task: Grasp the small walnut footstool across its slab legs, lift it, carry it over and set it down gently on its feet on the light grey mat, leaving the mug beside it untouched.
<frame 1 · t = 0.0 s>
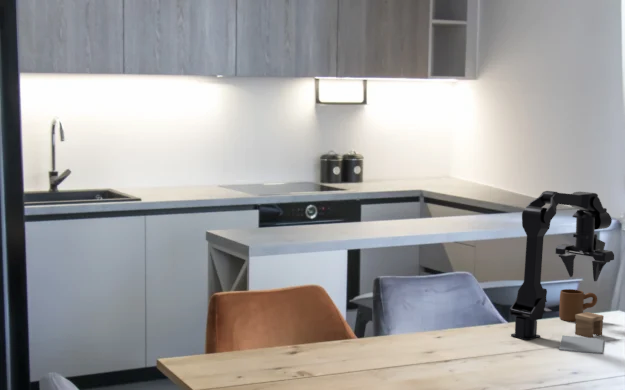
hand: (583, 278, 299), 15 cm above the table, fingers open, 9 cm apart
mat: (581, 344, 274), on the table
stool: (588, 334, 286), on the table
mug: (577, 320, 306), on the table
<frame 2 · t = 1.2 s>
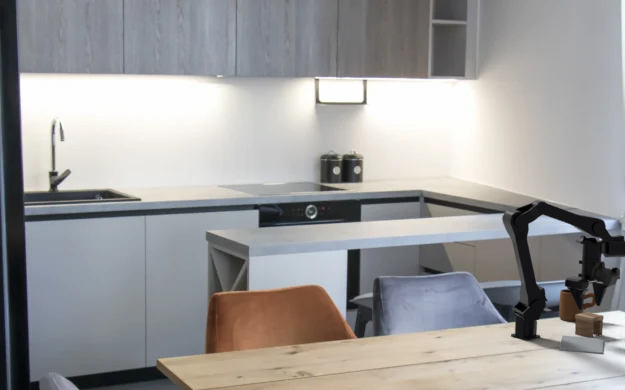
hand: (589, 307, 285), 8 cm above the table, fingers open, 9 cm apart
nothing on the table moved.
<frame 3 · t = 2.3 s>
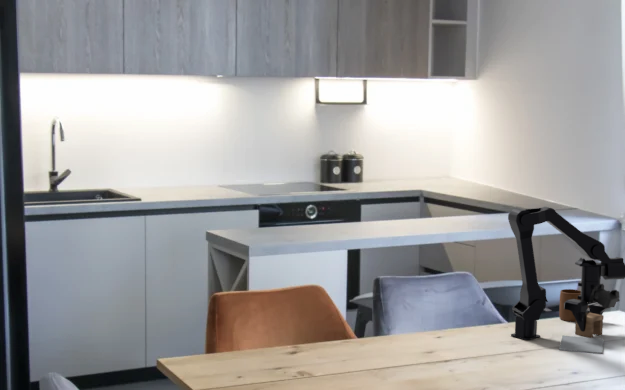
hand: (588, 329, 286), 2 cm above the table, fingers closed on stool, 6 cm apart
stool: (588, 334, 286), on the table, touching gripper
everything else where it was.
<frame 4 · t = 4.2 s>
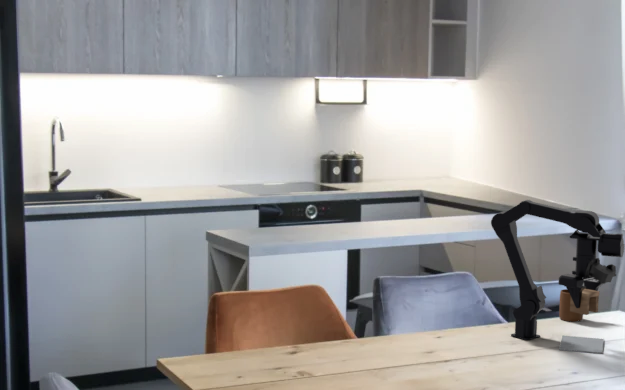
hand: (583, 306, 273), 11 cm above the table, fingers closed on stool, 6 cm apart
stool: (583, 311, 273), point 10 cm above the table, touching gripper
everything else where it was.
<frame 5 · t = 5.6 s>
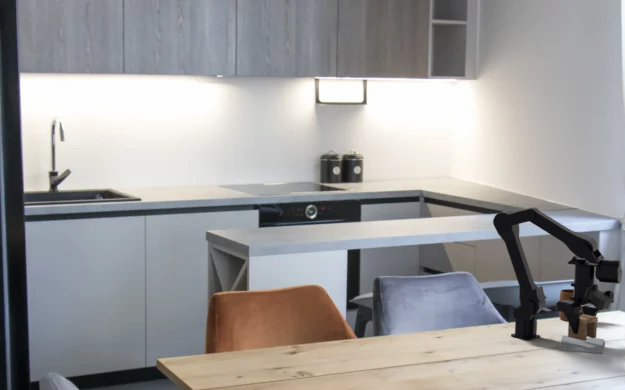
hand: (582, 332, 274), 4 cm above the table, fingers closed on stool, 6 cm apart
stool: (582, 337, 274), point 2 cm above the table, touching gripper
everything else where it was.
when the fingers open (3 cm above the table, at t = 6.3 s): stool stays where it is, resting on mat.
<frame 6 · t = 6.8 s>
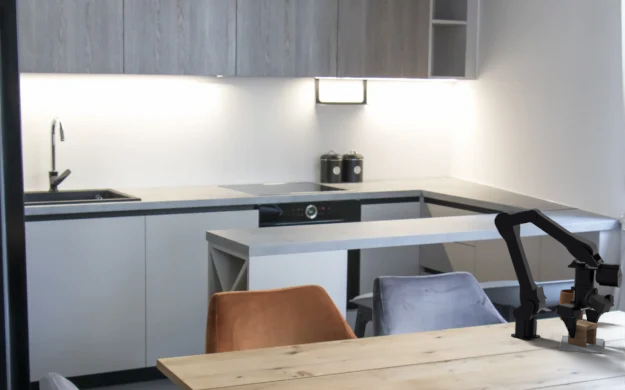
hand: (582, 335, 274), 3 cm above the table, fingers open, 9 cm apart
stool: (581, 343, 274), resting on mat
everything else where it was.
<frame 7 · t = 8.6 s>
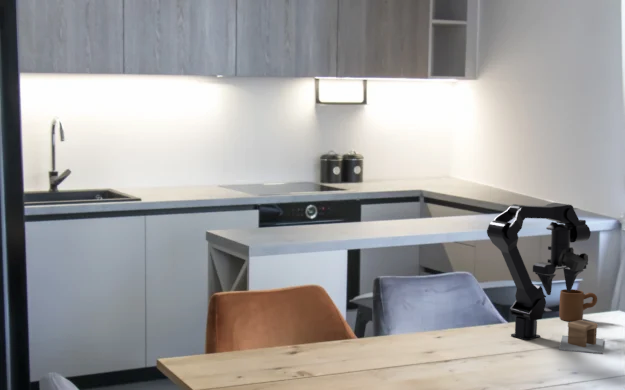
hand: (558, 293, 289), 12 cm above the table, fingers open, 9 cm apart
nothing on the table moved.
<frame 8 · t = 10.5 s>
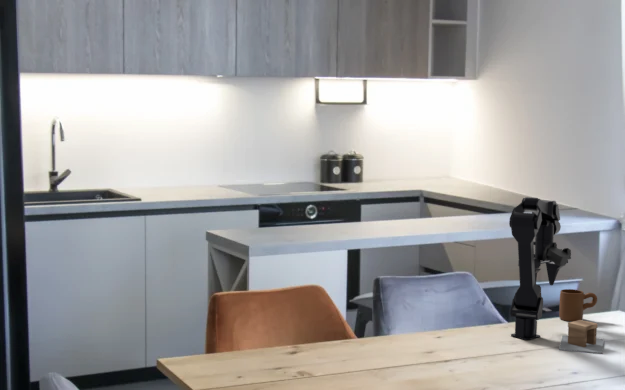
hand: (542, 286, 299), 12 cm above the table, fingers open, 9 cm apart
nothing on the table moved.
at the end: stool inside the target area on the mat (0.1 cm from its centre), point 0.4 cm above the mat's base; stool tilted 0°; the gripper is holding nothing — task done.
